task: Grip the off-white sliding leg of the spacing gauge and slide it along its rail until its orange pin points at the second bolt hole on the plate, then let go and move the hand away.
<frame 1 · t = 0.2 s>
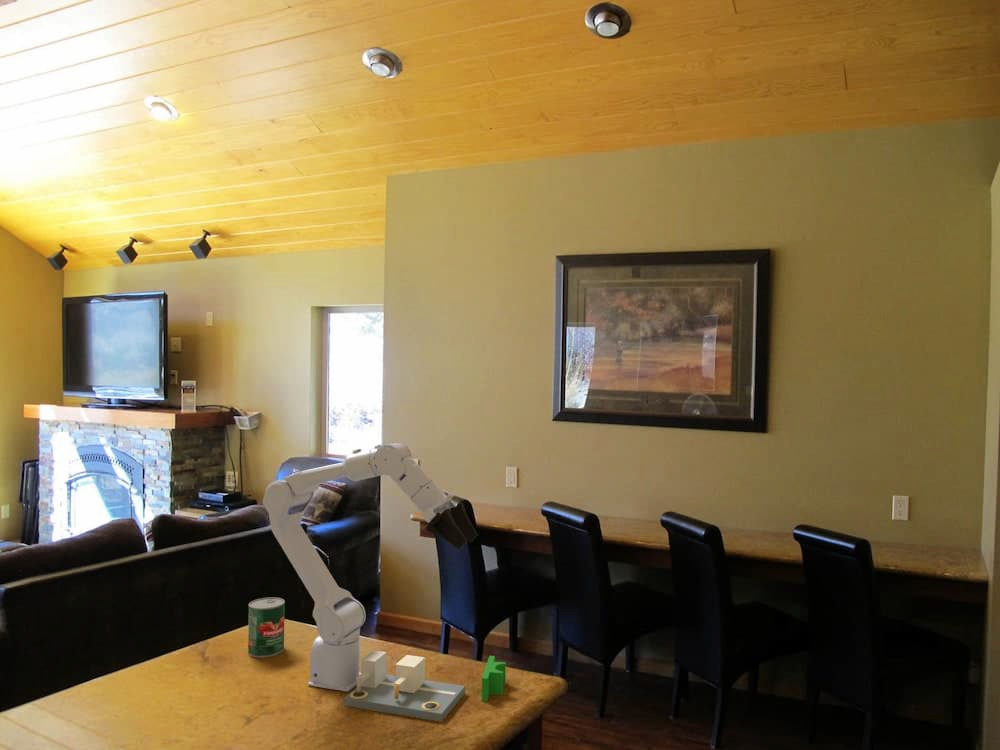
hand: (468, 541, 132), 31 cm above the table, tool tilted 45°, fingers open, 7 cm apart
pipe clamp: (494, 690, 137), on the table
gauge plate: (405, 699, 132), on the table
sliding leg: (406, 677, 132), point 4 cm above the table, slide at 0.0 cm
canned tomato: (266, 651, 156), on the table
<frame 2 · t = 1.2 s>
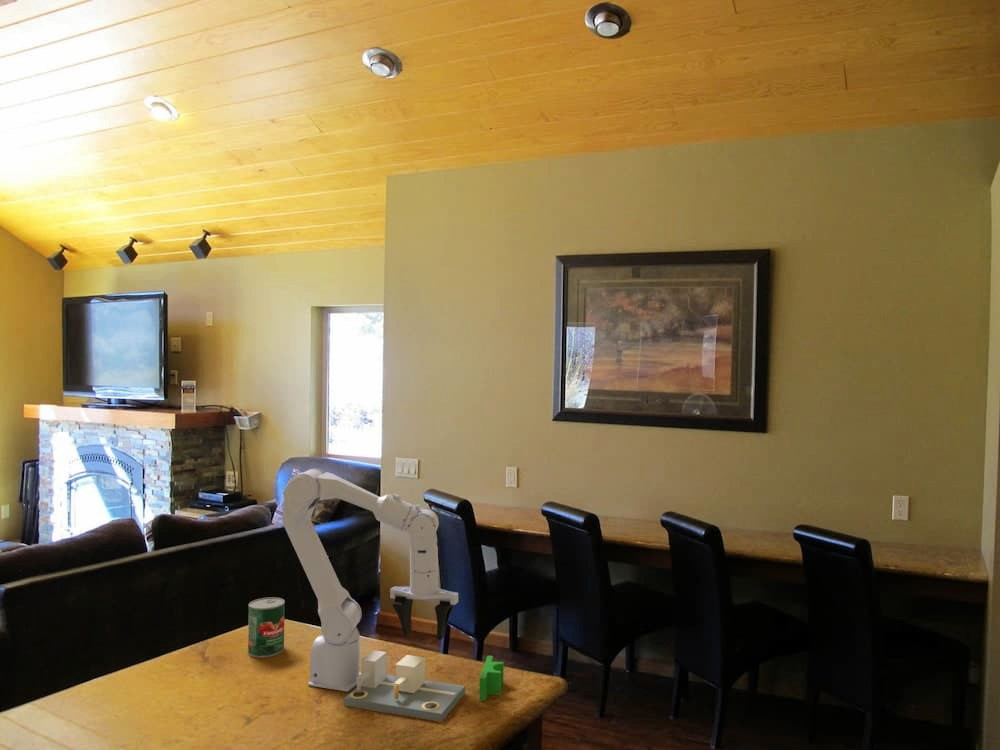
hand: (424, 635, 139), 10 cm above the table, tool pointing down, fingers open, 7 cm apart
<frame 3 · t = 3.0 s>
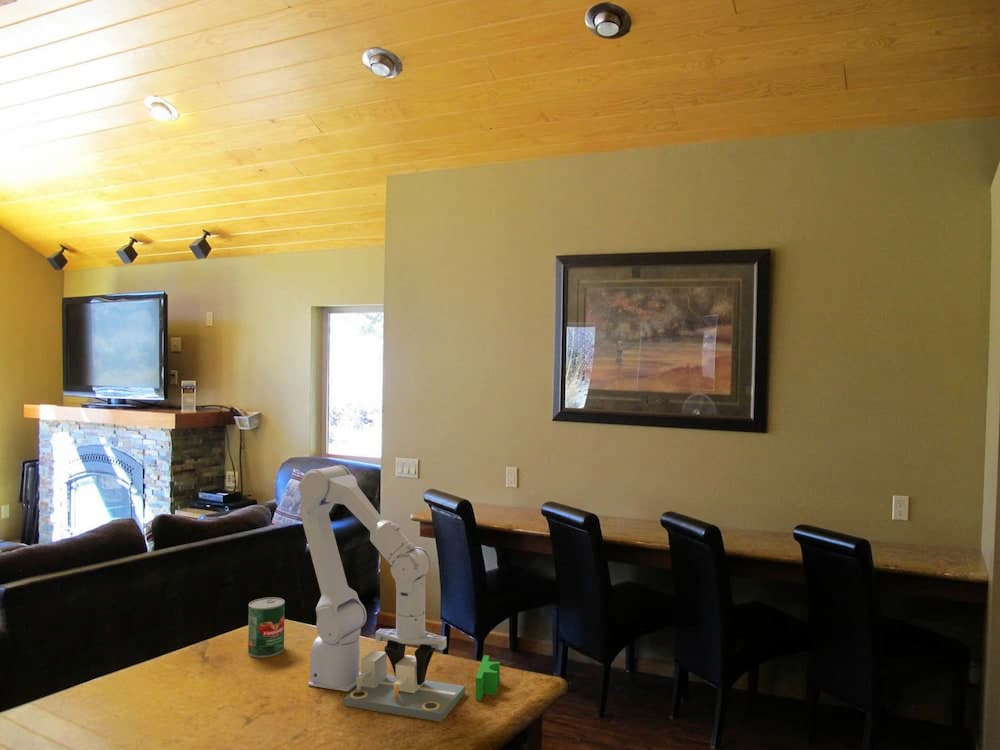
hand: (410, 681, 134), 3 cm above the table, tool pointing down, fingers closed on sliding leg, 4 cm apart
sliding leg: (406, 677, 132), point 4 cm above the table, slide at 0.0 cm, touching gripper
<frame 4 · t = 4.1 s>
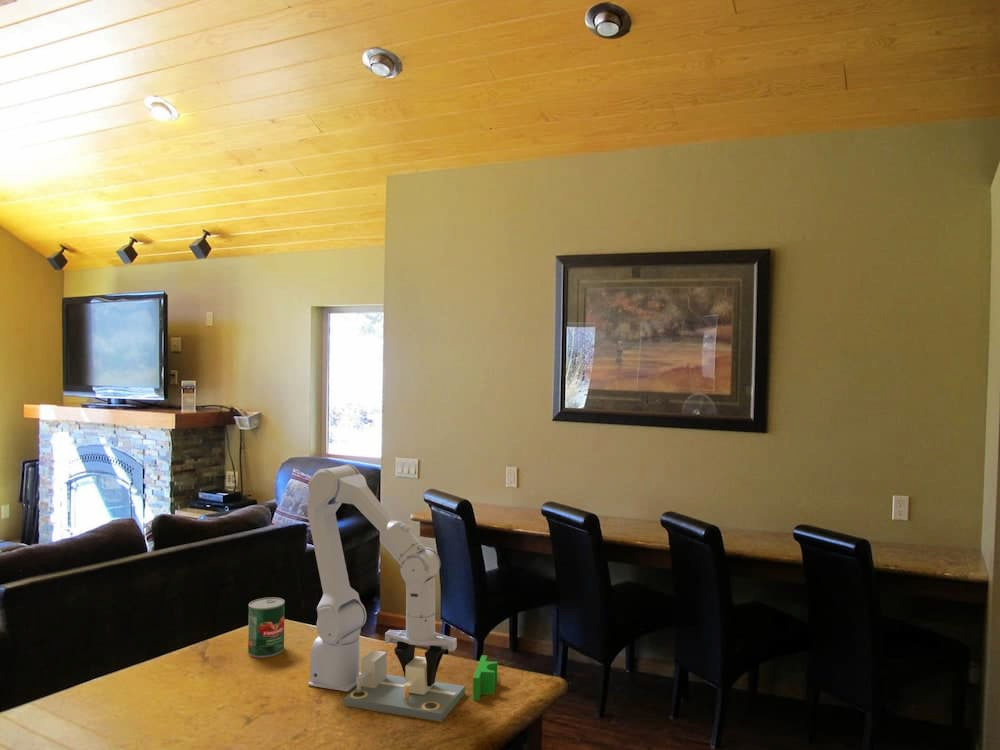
hand: (420, 682, 133), 3 cm above the table, tool pointing down, fingers closed on sliding leg, 4 cm apart
sliding leg: (416, 679, 131), point 4 cm above the table, slide at 2.1 cm, touching gripper
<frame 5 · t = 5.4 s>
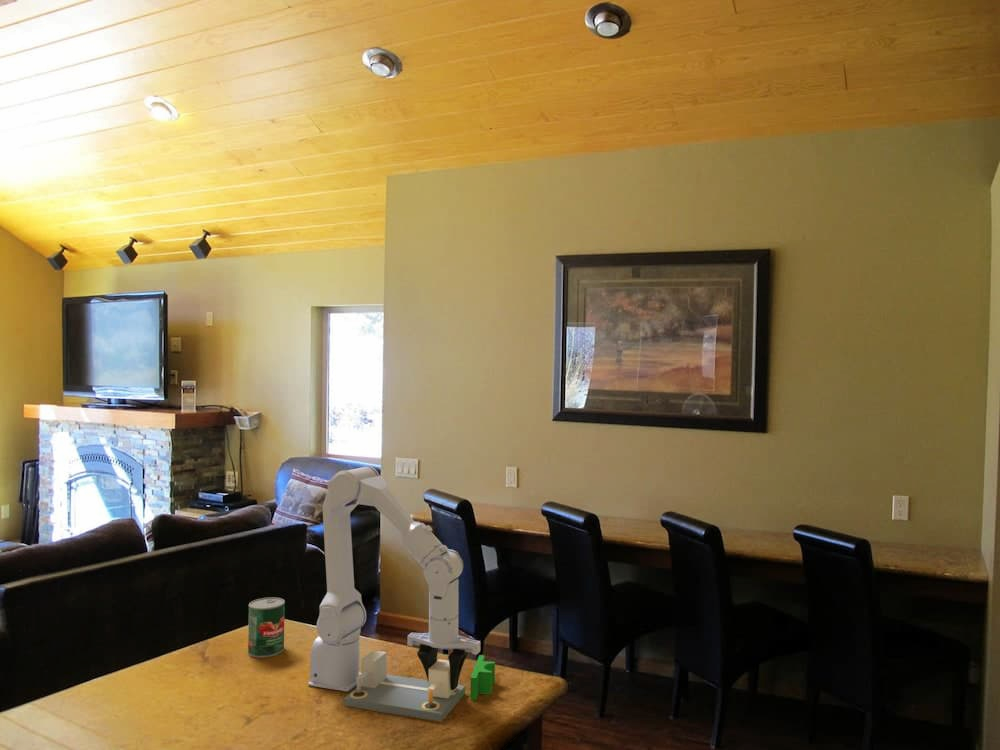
hand: (443, 686, 131), 3 cm above the table, tool pointing down, fingers closed on sliding leg, 4 cm apart
sliding leg: (439, 682, 130), point 4 cm above the table, slide at 7.0 cm, touching gripper
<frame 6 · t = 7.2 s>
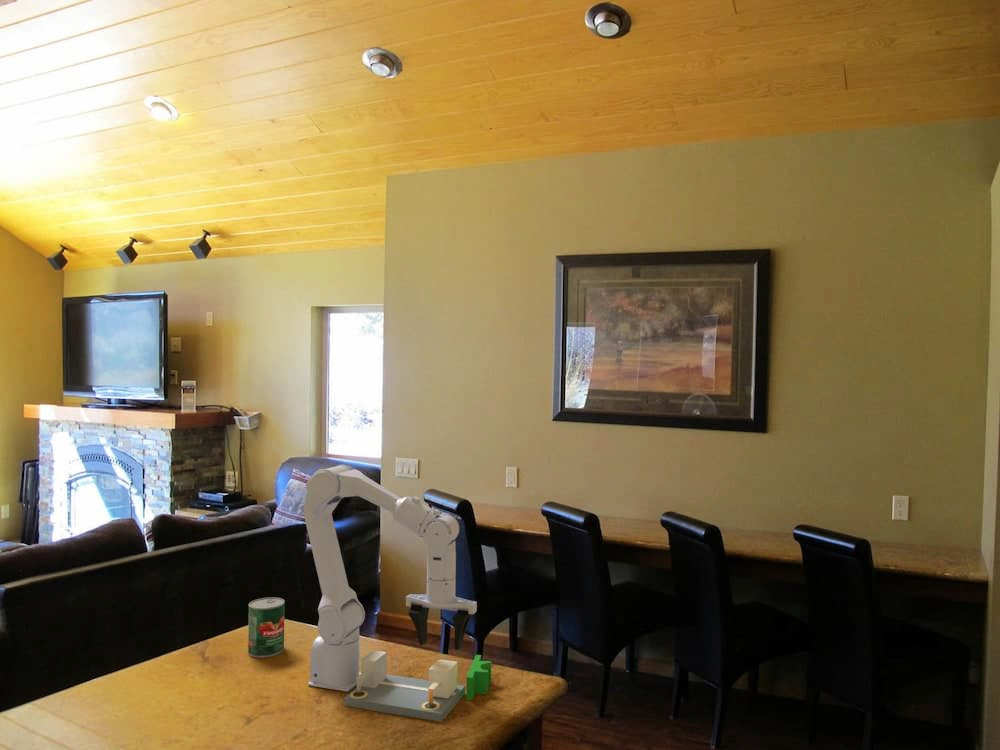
hand: (440, 645, 135), 9 cm above the table, tool pointing down, fingers open, 7 cm apart
sliding leg: (439, 682, 130), point 4 cm above the table, slide at 7.0 cm
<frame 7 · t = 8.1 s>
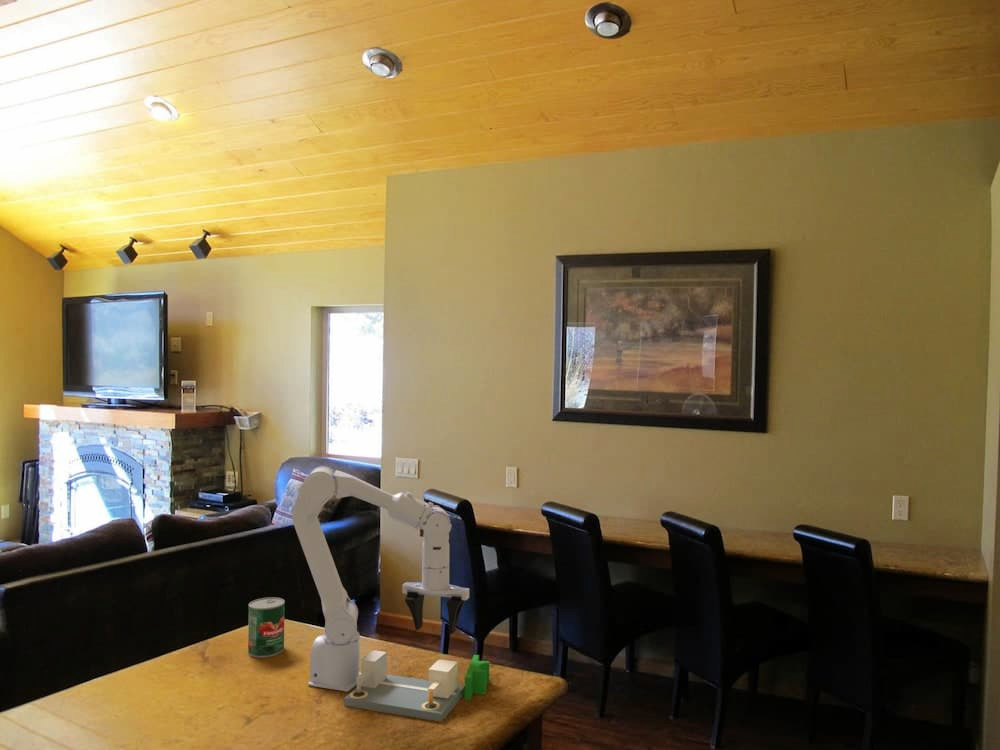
hand: (435, 630, 143), 9 cm above the table, tool pointing down, fingers open, 7 cm apart
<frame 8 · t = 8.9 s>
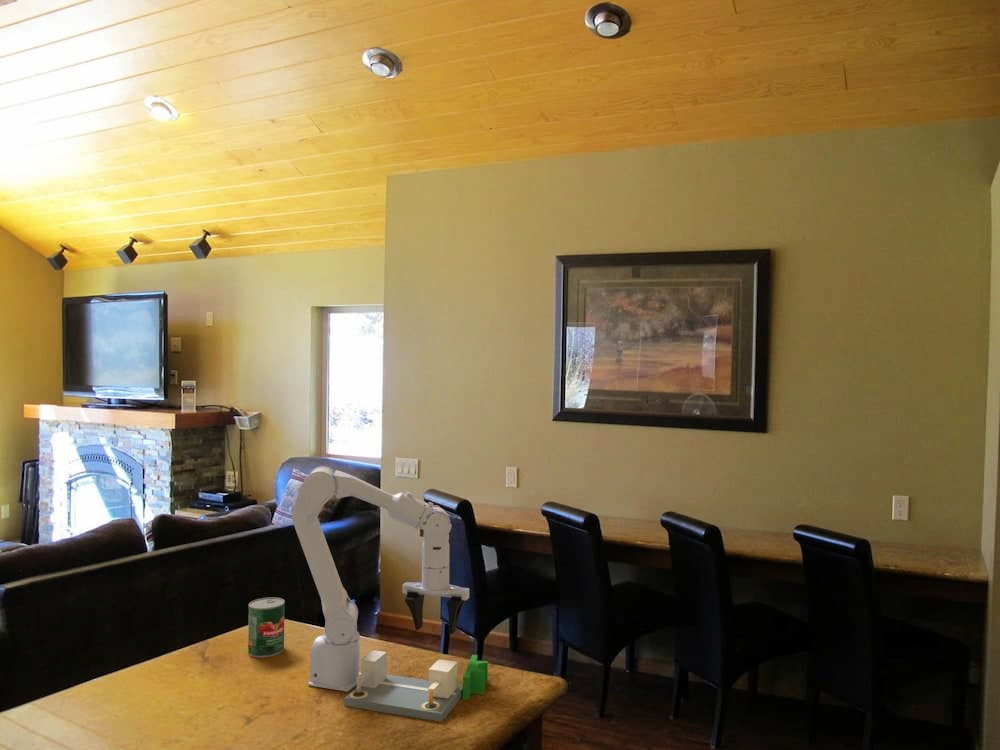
hand: (435, 630, 143), 9 cm above the table, tool pointing down, fingers open, 7 cm apart
at the end: sliding leg slide at 7.0 cm; the gripper is holding nothing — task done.
